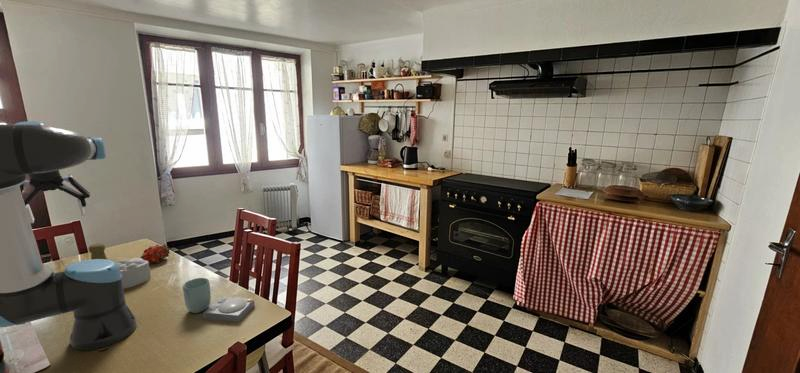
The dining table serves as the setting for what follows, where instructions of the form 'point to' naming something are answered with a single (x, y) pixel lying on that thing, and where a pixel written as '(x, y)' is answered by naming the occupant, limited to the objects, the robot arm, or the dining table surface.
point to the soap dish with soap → (229, 309)
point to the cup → (197, 294)
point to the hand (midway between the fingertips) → (58, 217)
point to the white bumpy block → (134, 271)
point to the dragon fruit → (155, 253)
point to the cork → (97, 251)
